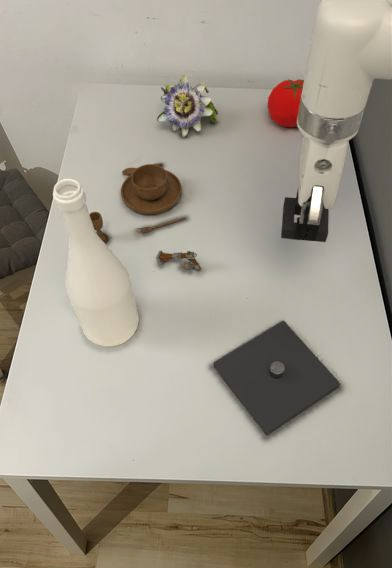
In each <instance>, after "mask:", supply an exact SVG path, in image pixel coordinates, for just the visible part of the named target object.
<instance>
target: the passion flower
mask: <svg viewBox="0 0 392 568" xmlns="http://www.w3.org/2000/svg"><path fill="white" fill-rule="evenodd" d="M164 86H165V88H164V87H163V86H160V89H161V91H162V92H163V95H162V96H160V100H161V101H162V102H163V104H165V107H164V108H163V111H162V112H161V113H159V115H158V116H156V117H157V118H156V121H157V122H158V123H163V122H166V121H168V122H170V124H171V130H172V133H174V132H176V131H178V130H179V131H180V132H181V136H182V137H183V138H185V137H186V136H187V135H188V134H189V129H190V128H191V127H192V128H193V129H194V130H195V131H196V132H201V129H202V118H203V117H207V118H209V120H210V121H211V123H212V124H215V123H216V121H217V115H219V111H218V110H217V109H216V107H215V106H214V103H213V101H212V99H211V97H209V96H205V95H202V93H203V92H204V90H205V93H206V94H209V93H210V90H209V88H208V87H207V86H206V83H205V82H201V83H198V84H196V85H195V86H194V87H192V86H190V83H189V81H188V77H187V76H186V75H184V74H183V75H182V76H181V77H180V79H179V82H178V83H176V84H174V86H172V85H171V84H165V85H164Z"/></svg>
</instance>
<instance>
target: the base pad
mask: <svg viewBox="0 0 392 568" xmlns="http://www.w3.org/2000/svg"><path fill="white" fill-rule="evenodd" d="M213 368H214V370H216V372H217V374H219V376H220V377H221V378H222V380H223V381H224V382H225V384H226V385H227V386H228V387H229V389H230V390H231V391H232V393H233V394H234V395H235V397H236V398H237V399H238V400H239V402H240V404H241V405H242V406H244V408H245V410H246V411H247V412H248V413H249V415H250V416H251V417H252V419H253V420H254V422H255V423H256V424H257V425H258V427H259V428H260V429H261V430H262V432H263V433H264V434H265V436H269V435H271V434H272V433H273V432H275V431H276V430H278V429H280V428H281V427H282V426H284V425H285V424H286V423H288V422H290V421H291V420H293V419H294V418H296V417H297V416H299V415H300V414H302V413H303V412H305V411H306V410H307V409H309V408H311V407H313V405H315V404H317V403H318V402H320V401H321V400H323V399H324V398H326V397H327V396H329V395H330V394H332V393H333V392H335V391H336V390H338V389H339V388H340V386H341V382H340V381H339V380H338V379H337V378H336V377H335V376H334V375H333V373H331V371H330V370H329V369H328V368H327V367H326V365H324V364H323V362H322V361H321V360H320V359H319V358H318V357H317V356H316V354H315V353H314V352H313V351H312V350H311V349H310V348H309V347H308V345H307V344H305V342H304V341H303V340H302V339H301V338H300V337H299V336H298V334H296V333H295V331H294V330H293V329H292V328H291V326H289V324H287V322H286V321H285V320H284V319H283V320H282V321H280V322H279V323H276V324H275V325H273V326H271V327H270V328H268V329H267V330H265V331H263V332H262V333H260V334H258V335H256V336H255V337H253V338H251V339H250V340H248V341H247V342H245V343H243V344H241V345H240V346H238V347H237V348H235V349H233V350H232V351H230V352H229V353H227V354H225V355H223V356H222V357H220V358H218V359H217V360H215V361H214V362H213Z"/></svg>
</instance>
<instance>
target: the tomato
mask: <svg viewBox="0 0 392 568" xmlns="http://www.w3.org/2000/svg"><path fill="white" fill-rule="evenodd" d="M303 83H304V79H300V78H298V79H296V80H292V79H289V78H287V80H283V81H281V82H279V83H278V84H276V86H275V87H273V89H272V90H271V92H270V93H269V95H268V97H267V104H266V105H267V110H268V114H269V117H270V119H271V121H273V122H274V123H276V124H277V125H278V126H281V127H284V128H296V127H298V126H297V117H298V112H299V106H300V100H301V95H302V89H303Z"/></svg>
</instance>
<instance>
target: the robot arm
mask: <svg viewBox="0 0 392 568" xmlns="http://www.w3.org/2000/svg"><path fill="white" fill-rule="evenodd" d="M307 55H308V56H307V60H306V67H305V72H304V77H303V78H304V79H303V80H304V83H303V89H302V95H301V100H300V106H299V112H298V117H297V126H296V127H297V129H298V131H299V132H300V133H301V134H302V136H303V137H302V143H301V150H300V156H299V166H298V186H297V191H296V196H295V198H298V203H299V205H300V206H301V213H300V215H299V216H297V219H296V221H295V222H296V227H295V232H294V239H293V240H295V241H304V242H305V241H306V242H316V241H315V240H316V237H317V233H318V229H319V226H320V222H321V213H322V208H323V203H324V207H325V209H329V210H332V209H333V208H334V207H335V205H336V201H337V196H338V191H339V188H340V184H341V181H342V175H343V171H344V166H345V163H346V156H347V151H348V145H349V141H350V140H352V139H353V138H354V137H356V136H357V134H358V132H359V129H360V126H361V123H362V119H363V117H364V113H365V109H366V106H367V102H368V99H369V96H370V92H371V89H372V86H373V82H374V80H375V79H376V80H378V79H379V80H389V81H392V0H321V1H320V2H319V3H318V6H317V9H316V11H315V15H314V19H313V26H312V32H311V37H310V43H309V49H308V53H307ZM308 199H311V200H308ZM306 206H307V207H310V209H309V214H308V215H305V210H306Z"/></svg>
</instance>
